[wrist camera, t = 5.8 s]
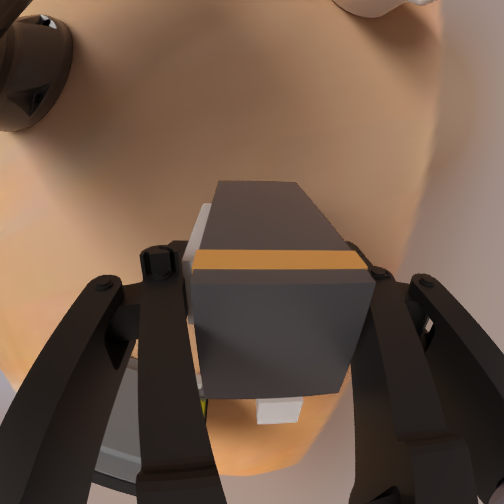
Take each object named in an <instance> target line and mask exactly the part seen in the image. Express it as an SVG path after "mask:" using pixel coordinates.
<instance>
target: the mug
mask: <svg viewBox="0 0 504 504" xmlns="http://www.w3.org/2000/svg"><path fill="white" fill-rule="evenodd" d="M333 1H334V2H335V3H336V4H337V5H338V6H340V7H341V8H343V9H344V10H346V11H348V12H350V13H352V14H355V15H357V16H361V17H365V18H376V17H380V16H383V15H385V14H386V13H388V12H389V11H391V10H393V9H394V8H396V7H398V6H399V5H401V4H403V3H405V2H406V1H408V2H410V3H413V4H416V5H419V6H424V5H427V4H429V3H432V2H434V1H436V0H333Z"/></svg>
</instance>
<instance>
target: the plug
mask: <svg viewBox="0 0 504 504" xmlns="http://www.w3.org/2000/svg"><path fill="white" fill-rule="evenodd" d="M367 269H368V267H367V265H366V264H365V263H364V261H363V260H362V259H361V258H360V256H359V255H358V254H357V252H356V251H352V250H351V249H350V247H349V246H348V245H347V243H346V242H345V241H344V240H343V238H342V237H341V236H340V235H339V233H338V232H337V231H336V230H335V228H334V227H333V226H332V225H331V223H330V222H329V221H328V220H327V218H326V217H325V216H324V215H323V214H322V212H321V211H320V210H319V209H318V208H317V206H316V205H315V204H314V203H313V202H312V201H311V199H310V198H309V197H308V196H307V195H306V193H305V192H304V191H303V190H302V189H301V188H300V187H299V185H298V184H297V183H296V182H274V181H218V185H217V188H216V191H215V195H214V198H213V201H212V205H211V208H210V212H209V215H208V219H207V222H206V226H205V229H204V233H203V236H202V240H201V244H200V247H199V250H196V253H195V257H194V260H193V264H192V278H191V282H190V290H191V300H192V310H193V319H194V328H195V336H196V344H197V352H198V359H199V366H200V373H201V380H202V386H203V393H204V399H270V398H289V397H302V396H313V395H323V394H332V393H339V390H340V388H341V385H342V383H343V380H344V378H345V375H346V373H347V370H348V367H349V365H350V362H351V359H352V357H353V354H354V351H355V348H356V345H357V343H358V340H359V337H360V334H361V331H362V328H363V325H364V321H365V318H366V315H367V312H368V309H369V305H370V302H371V298H372V295H373V291H374V288H375V284H376V282H375V280H374V279H373V278H372V276H371V275H370V274H369V272H368V271H367Z"/></svg>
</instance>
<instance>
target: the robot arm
mask: <svg viewBox="0 0 504 504" xmlns="http://www.w3.org/2000/svg"><path fill="white" fill-rule="evenodd" d="M32 1H33V0H0V131H4V132H11V131H17V130H22V129H26V128H28V127H30V126H32V125H34V124H35V123H37V122H38V121H39V120H40V119H41V118H43V117H44V116H45V114H46V113H47V112H48V111H49V110H50V109H51V107H52V106H53V104H54V103H55V101H56V100H57V98H58V96H59V95H60V93H61V91H62V89H63V87H64V84H65V82H66V79H67V76H68V73H69V70H70V65H71V60H72V39H71V35H70V32H69V30H68V28H67V27H66V25H65V24H64V23H63V22H61V21H60V20H58V19H55V18H53V17H50V16H47V15H31V16H23V17H18V16H19V15H20V14H21V13H22V12H23V11H24V9H25V8H26V7H27V6H28V5H29V4H30V3H31V2H32ZM211 205H212V203H203V205H202V207H201V210H200V213H199V215H198V218H197V220H196V223H195V226H194V228H193V231H192V234H191V236H190V239H189V241H172V242H171V243H169V244H168V245H158V246H152V247H149V248H147V249H145V250H143V251H142V252H141V254H140V262H141V268H142V274H143V281H142V282H139V283H135V284H130V285H124V286H123V285H122V281H121V279H120V278H119V277H117V276H115V275H102V276H98V277H97V278H95V279H93V280H91V281H90V282H89V283H88V284H87V286H86V287H85V288H84V290H83V291H82V292H81V294H80V295H79V296H78V298H77V299H76V300H75V302H74V303H73V305H72V306H71V307H70V309H69V310H68V312H67V313H66V315H65V316H64V317H63V319H62V320H61V322H60V323H59V325H58V326H57V328H56V329H55V331H54V332H53V334H52V335H51V337H50V338H49V340H48V341H47V343H46V344H45V346H44V348H43V349H42V351H41V352H40V354H39V356H38V357H37V359H36V361H35V362H34V364H33V366H32V367H31V369H30V371H29V372H28V374H27V376H26V378H25V379H24V381H23V383H22V385H21V386H20V388H19V390H18V392H17V394H16V396H15V398H14V400H13V401H12V403H11V405H10V407H9V409H8V411H7V413H6V415H5V417H4V419H3V421H2V424H1V426H0V504H87V500H88V495H89V490H90V487H91V482H92V478H93V474H94V470H95V467H96V463H97V459H98V455H99V452H100V448H101V445H102V441H103V438H104V434H105V431H106V428H107V424H108V421H109V418H110V415H111V412H112V408H113V405H114V402H115V399H116V396H117V393H118V390H119V387H120V384H121V382H122V379H123V376H124V373H125V370H126V367H127V365H128V362H129V359H130V356H131V354H132V351H133V348H134V346H135V343H136V339H138V423H139V441H140V454H141V471H140V472H139V473H138V474H137V476H136V497H137V504H227V502H226V498H225V495H224V492H223V488H222V485H221V481H220V478H219V474H218V470H217V467H216V464H215V460H214V456H213V453H212V448H211V444H210V440H209V436H208V432H207V427H206V423H205V419H204V414H203V409H202V405H201V400H200V395H199V390H198V385H197V380H196V374H195V369H194V363H193V358H192V352H191V346H190V340H189V334H188V327H187V321H186V319H187V314H188V322H189V324H194V319H193V310H192V300H191V290H190V282H191V278H192V264H193V260H194V257H195V253H196V250H199V247H200V244H201V240H202V236H203V233H204V229H205V226H206V222H207V219H208V215H209V212H210V208H211ZM345 242H346V243H347V245H348V246H349V247H350V249H351V250H352V251H356V252H357V254H358V255H359V256H360V258H361V259H362V260H363V261H364V263H365V264H366V265H367V267H368V269H367V271H368V272H369V274H370V275H371V276H372V278H373V279H374V280H375V282H376V284H375V288H374V291H373V295H372V298H371V302H370V305H369V309H368V312H367V315H366V318H365V321H364V325H363V328H362V331H361V334H360V337H359V340H358V343H357V345H356V348H355V351H354V354H353V357H352V359H351V362H350V363H351V374H352V387H353V402H354V422H355V460H356V462H355V483H354V486H353V489H352V492H351V494H350V498H349V504H478V498H477V495H478V497H479V499H480V500H481V501H482V502H483V503H484V504H504V354H503V353H502V352H501V350H500V349H499V348H498V347H497V345H496V344H495V343H494V342H493V341H492V339H491V338H490V337H489V336H488V334H487V333H486V332H485V331H484V330H483V329H482V328H481V326H480V325H479V324H478V323H477V322H476V321H475V319H474V318H473V317H472V316H471V315H470V314H469V313H468V312H467V310H466V309H465V308H464V307H463V306H462V305H461V304H460V303H459V302H458V301H457V300H456V299H455V298H454V297H453V296H452V294H450V292H449V291H448V290H447V289H446V288H445V287H444V286H443V285H442V284H441V283H440V282H439V281H438V280H436V279H435V278H433V277H431V276H430V275H427V274H415V275H413V276H412V279H411V282H410V284H407V283H400V282H396V281H395V279H394V277H393V275H392V274H391V273H390V272H389V271H387V270H386V269H383V268H381V267H376V266H373V265H372V264H371V263H370V261H369V260H368V259H367V258H366V257H365V255H364V254H363V253H362V252H361V250H360V249H359V248H358V247H357V246H356V245H354V244H353V243H351V242H349V241H345ZM429 318H430V319H431V320H432V322H433V325H432V327H431V330H430V331H429V332H427V330H426V329H425V327H426V325H427V323H428V320H429Z"/></svg>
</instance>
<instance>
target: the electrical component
mask: <svg viewBox="0 0 504 504" xmlns="http://www.w3.org/2000/svg"><path fill="white" fill-rule="evenodd" d="M196 380H197V385H198V390H199V395H200V400H201V405H202V409H203V414H204V419H205V423H206V418H207V405H208V399H204V393H203V386H202V380H201V375H200V374H196ZM140 471H141V454H140V441H139V423H138V360H137V359H134V358H131V357H130V359H129V362H128V365H127V367H126V370H125V373H124V376H123V379H122V382H121V384H120V387H119V390H118V393H117V396H116V399H115V402H114V405H113V408H112V412H111V415H110V418H109V421H108V424H107V428H106V431H105V434H104V438H103V441H102V445H101V448H100V452H99V455H98V459H97V463H96V467H95V470H94V474H93V478H92V482H93V483H95V484H98V485H101V486H104V487H107V488H110V489H113V490H116V491H120V492H123V493H126V494H130V495H134V496H136V476H137V474H138V473H139V472H140Z"/></svg>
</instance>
